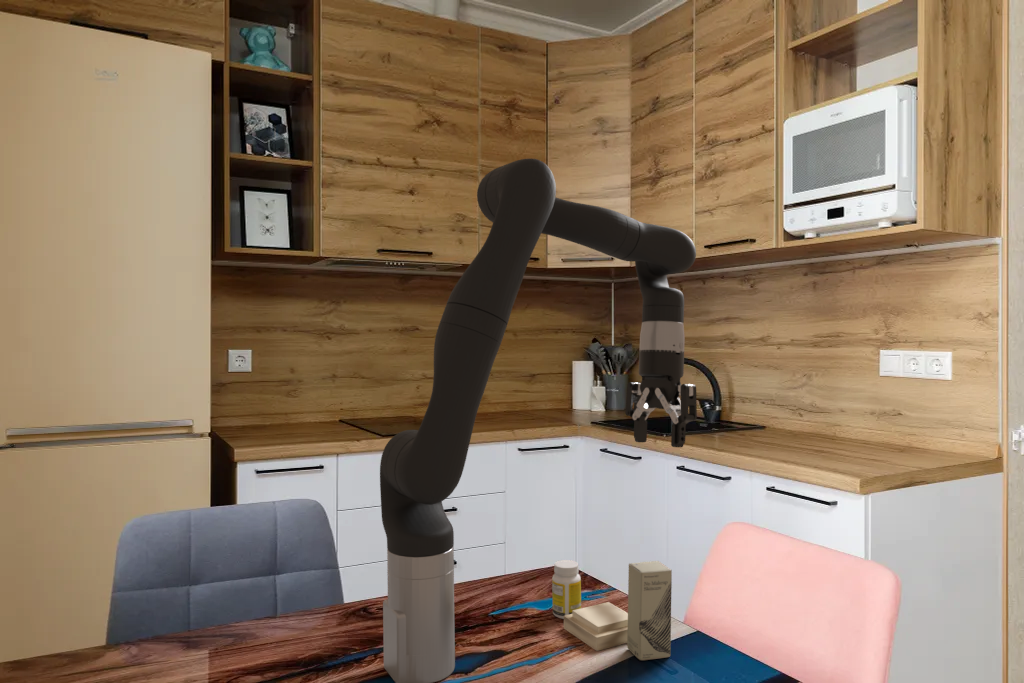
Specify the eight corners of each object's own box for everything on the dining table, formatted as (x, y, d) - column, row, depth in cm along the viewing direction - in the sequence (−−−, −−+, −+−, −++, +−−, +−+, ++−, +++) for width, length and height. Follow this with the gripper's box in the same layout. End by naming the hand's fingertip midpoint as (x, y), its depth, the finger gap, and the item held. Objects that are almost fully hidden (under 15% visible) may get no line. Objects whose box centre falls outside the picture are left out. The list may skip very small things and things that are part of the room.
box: (639, 662, 101) (639, 572, 101) (626, 648, 105) (626, 562, 105) (673, 657, 102) (673, 569, 102) (658, 644, 106) (658, 559, 106)
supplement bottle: (581, 608, 120) (581, 559, 120) (581, 620, 115) (581, 569, 115) (552, 607, 121) (552, 558, 120) (551, 619, 116) (551, 568, 116)
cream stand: (596, 651, 104) (596, 630, 104) (563, 628, 112) (563, 609, 112) (645, 637, 109) (645, 618, 109) (609, 616, 117) (609, 598, 117)
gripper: (617, 348, 125) (613, 441, 124) (677, 347, 113) (674, 449, 112) (647, 351, 129) (644, 440, 128) (709, 350, 118) (706, 448, 117)
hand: (658, 444), depth 120 cm, fingers open, 8 cm apart
